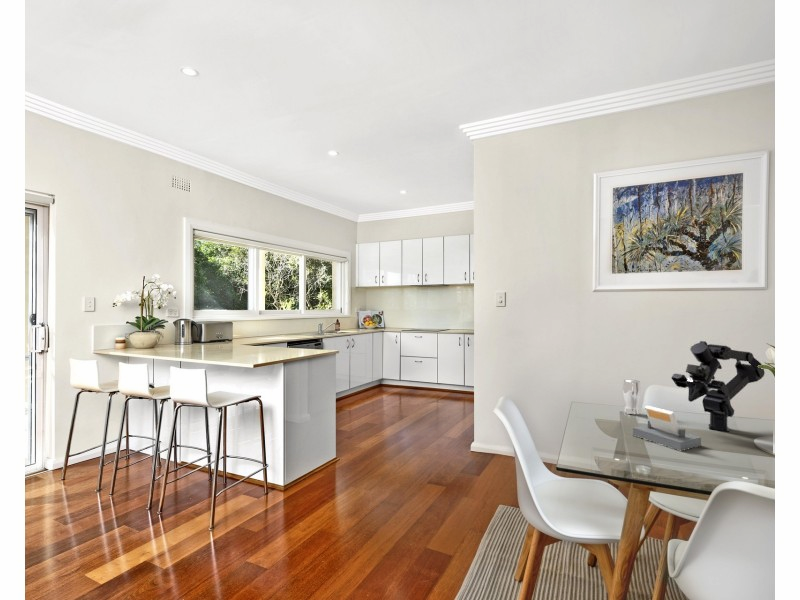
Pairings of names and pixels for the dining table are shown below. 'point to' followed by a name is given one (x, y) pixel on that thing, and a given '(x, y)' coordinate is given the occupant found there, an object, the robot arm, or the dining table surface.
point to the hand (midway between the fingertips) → (689, 400)
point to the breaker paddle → (662, 419)
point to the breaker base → (668, 437)
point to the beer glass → (631, 395)
